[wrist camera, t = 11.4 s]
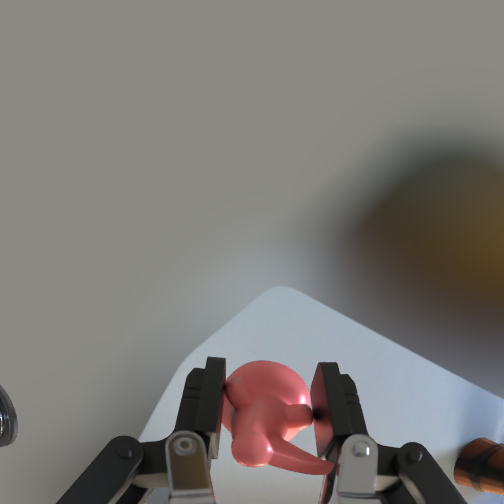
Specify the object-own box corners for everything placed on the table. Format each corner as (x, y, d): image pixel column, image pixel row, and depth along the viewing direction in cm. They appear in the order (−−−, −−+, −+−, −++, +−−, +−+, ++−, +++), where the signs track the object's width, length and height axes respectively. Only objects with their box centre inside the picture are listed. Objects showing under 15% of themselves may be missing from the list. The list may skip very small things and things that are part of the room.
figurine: (307, 373, 21) (382, 401, 7) (279, 432, 20) (304, 538, 6) (245, 348, 22) (216, 336, 8) (217, 406, 21) (147, 479, 7)
